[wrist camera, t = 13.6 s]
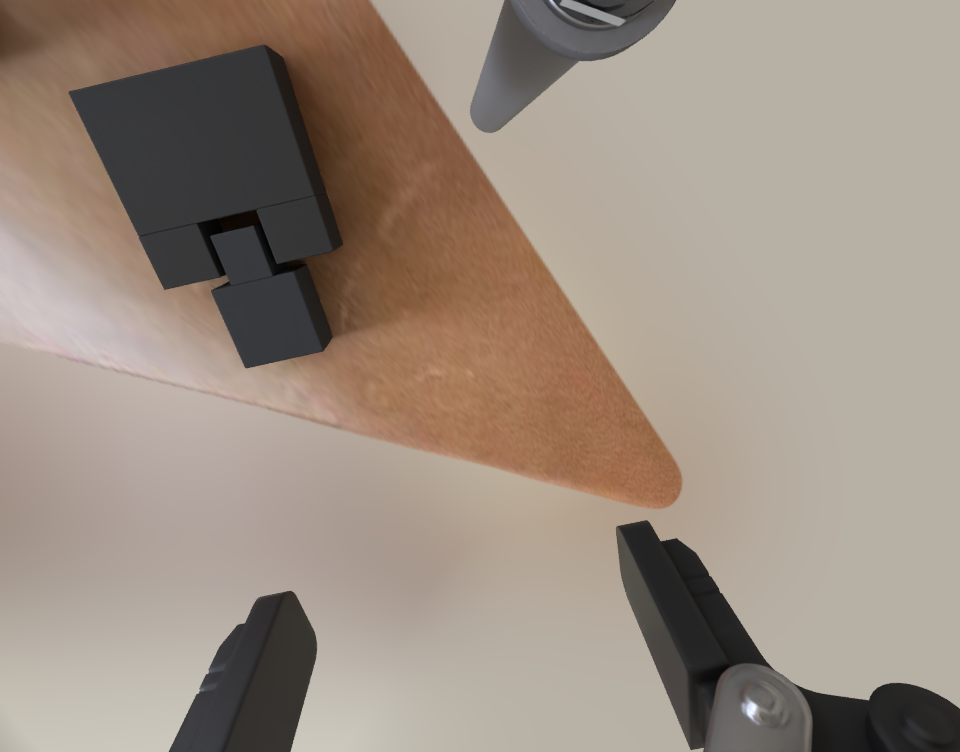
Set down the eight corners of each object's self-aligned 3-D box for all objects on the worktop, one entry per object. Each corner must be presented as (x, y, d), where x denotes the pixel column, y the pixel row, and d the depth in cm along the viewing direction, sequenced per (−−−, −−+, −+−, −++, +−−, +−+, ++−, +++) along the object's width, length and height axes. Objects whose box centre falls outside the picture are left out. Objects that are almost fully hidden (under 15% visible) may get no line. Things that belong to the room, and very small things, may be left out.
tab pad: (210, 235, 34) (187, 240, 31) (290, 216, 34) (275, 220, 31) (260, 353, 38) (245, 368, 35) (333, 337, 38) (323, 351, 35)
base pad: (103, 99, 31) (67, 91, 28) (282, 56, 30) (265, 43, 27) (187, 280, 35) (163, 290, 32) (343, 244, 35) (333, 251, 32)
